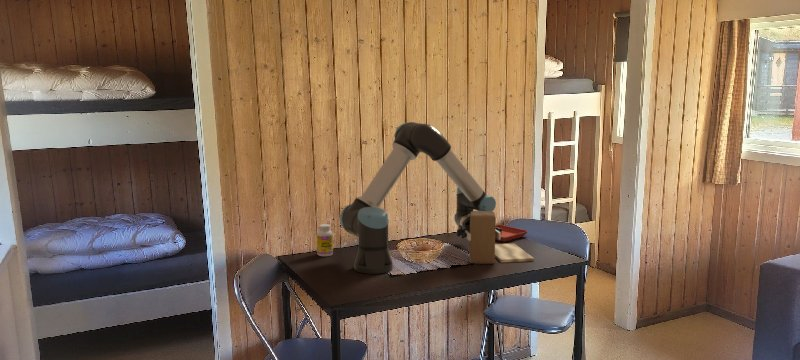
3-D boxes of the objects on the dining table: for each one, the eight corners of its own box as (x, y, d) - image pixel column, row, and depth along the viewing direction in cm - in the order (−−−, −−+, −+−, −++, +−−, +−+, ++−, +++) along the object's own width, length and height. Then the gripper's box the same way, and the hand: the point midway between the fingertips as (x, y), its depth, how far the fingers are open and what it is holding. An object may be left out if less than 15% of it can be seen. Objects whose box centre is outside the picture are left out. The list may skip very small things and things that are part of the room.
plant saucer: (504, 244, 284) (504, 237, 283) (474, 236, 297) (474, 230, 296) (528, 237, 295) (528, 230, 295) (498, 231, 309) (498, 224, 308)
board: (500, 262, 253) (501, 259, 253) (483, 247, 276) (483, 244, 276) (533, 261, 255) (533, 258, 255) (514, 246, 278) (514, 243, 278)
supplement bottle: (319, 257, 260) (319, 227, 258) (315, 253, 266) (314, 224, 264) (335, 255, 263) (334, 226, 261) (330, 251, 269) (329, 222, 267)
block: (493, 257, 260) (494, 210, 257) (494, 264, 250) (495, 215, 247) (469, 257, 261) (470, 210, 258) (469, 264, 251) (470, 215, 248)
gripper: (443, 217, 269) (455, 228, 248) (497, 215, 272) (513, 226, 251) (443, 234, 270) (455, 247, 249) (496, 232, 274) (513, 244, 252)
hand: (484, 236), depth 250 cm, fingers closed on block, 12 cm apart
